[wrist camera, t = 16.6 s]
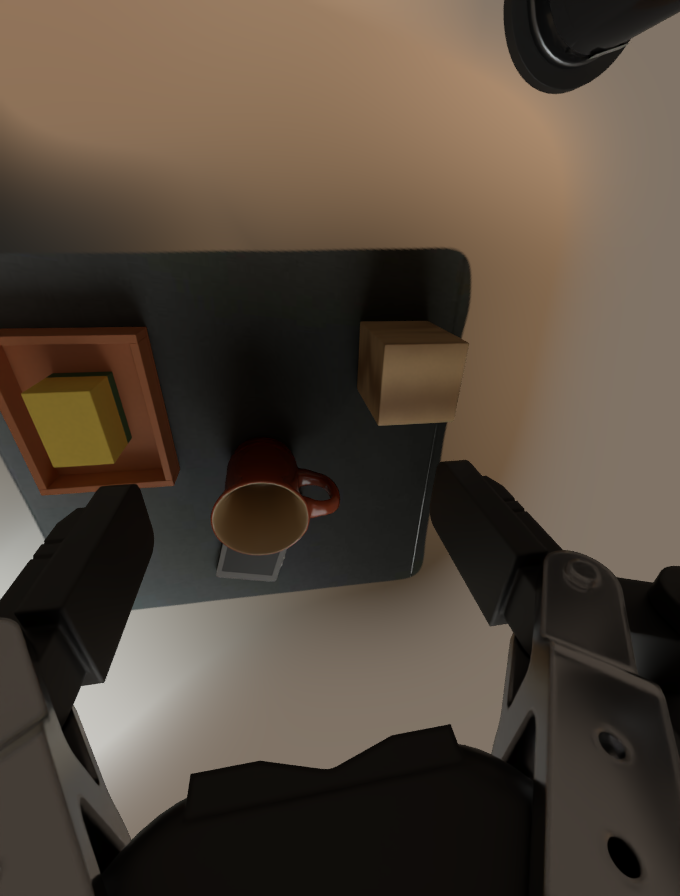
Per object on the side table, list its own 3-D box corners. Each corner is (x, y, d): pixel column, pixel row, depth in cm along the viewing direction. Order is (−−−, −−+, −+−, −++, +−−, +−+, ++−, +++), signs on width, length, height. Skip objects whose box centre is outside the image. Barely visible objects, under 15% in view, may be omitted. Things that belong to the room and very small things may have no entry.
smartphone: (276, 578, 51) (276, 582, 51) (215, 573, 49) (215, 577, 48) (304, 495, 45) (304, 498, 44) (236, 484, 42) (236, 487, 42)
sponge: (52, 372, 33) (19, 393, 28) (112, 371, 33) (89, 390, 29) (78, 440, 36) (53, 468, 32) (132, 437, 37) (114, 463, 33)
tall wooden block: (360, 321, 36) (384, 344, 28) (427, 320, 37) (469, 342, 29) (356, 388, 39) (378, 426, 31) (418, 386, 40) (453, 421, 32)
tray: (-10, 328, 31) (-36, 337, 28) (146, 326, 33) (135, 334, 30) (57, 478, 38) (41, 495, 36) (180, 469, 40) (174, 485, 38)
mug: (228, 494, 43) (217, 560, 34) (218, 428, 39) (203, 484, 30) (328, 487, 45) (342, 548, 36) (329, 424, 41) (346, 475, 32)
